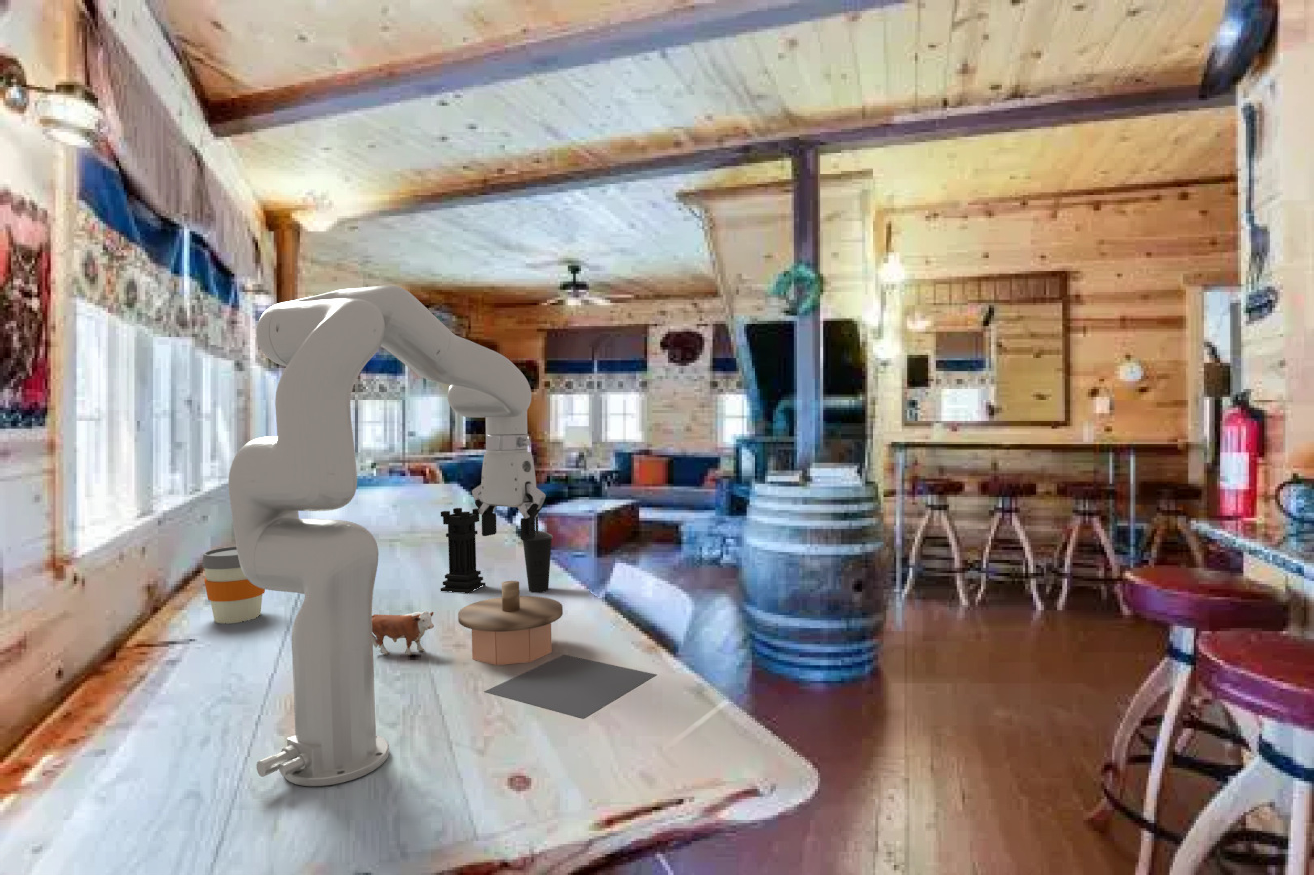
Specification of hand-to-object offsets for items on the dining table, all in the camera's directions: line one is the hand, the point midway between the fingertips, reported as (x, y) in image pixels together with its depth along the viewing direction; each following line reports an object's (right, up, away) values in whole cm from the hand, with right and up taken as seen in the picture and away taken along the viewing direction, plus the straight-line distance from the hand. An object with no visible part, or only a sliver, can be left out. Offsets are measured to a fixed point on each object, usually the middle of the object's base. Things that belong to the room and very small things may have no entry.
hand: (508, 537), depth 136 cm
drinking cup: (-2, -20, +48) cm, 52 cm away
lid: (0, -15, +1) cm, 15 cm away
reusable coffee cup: (-66, -22, +28) cm, 75 cm away
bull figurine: (-20, -22, +2) cm, 30 cm away
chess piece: (-22, -20, +51) cm, 59 cm away
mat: (+14, -22, -15) cm, 30 cm away
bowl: (0, -22, +1) cm, 22 cm away
